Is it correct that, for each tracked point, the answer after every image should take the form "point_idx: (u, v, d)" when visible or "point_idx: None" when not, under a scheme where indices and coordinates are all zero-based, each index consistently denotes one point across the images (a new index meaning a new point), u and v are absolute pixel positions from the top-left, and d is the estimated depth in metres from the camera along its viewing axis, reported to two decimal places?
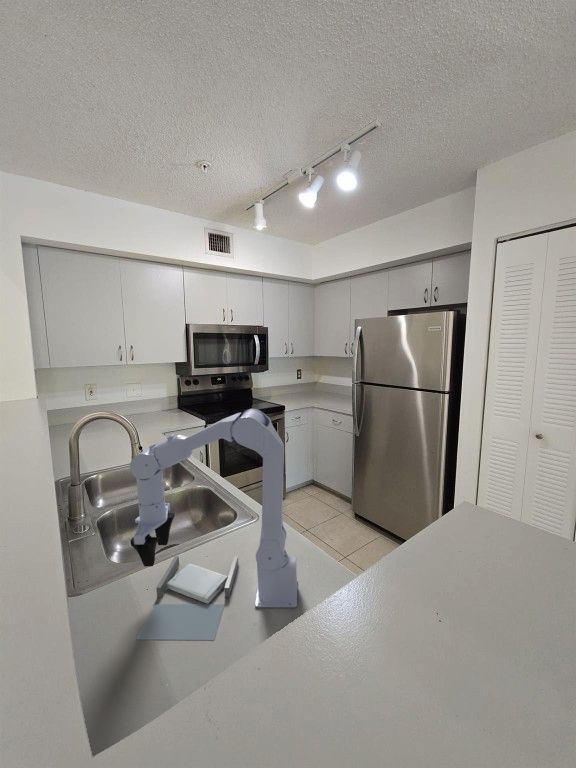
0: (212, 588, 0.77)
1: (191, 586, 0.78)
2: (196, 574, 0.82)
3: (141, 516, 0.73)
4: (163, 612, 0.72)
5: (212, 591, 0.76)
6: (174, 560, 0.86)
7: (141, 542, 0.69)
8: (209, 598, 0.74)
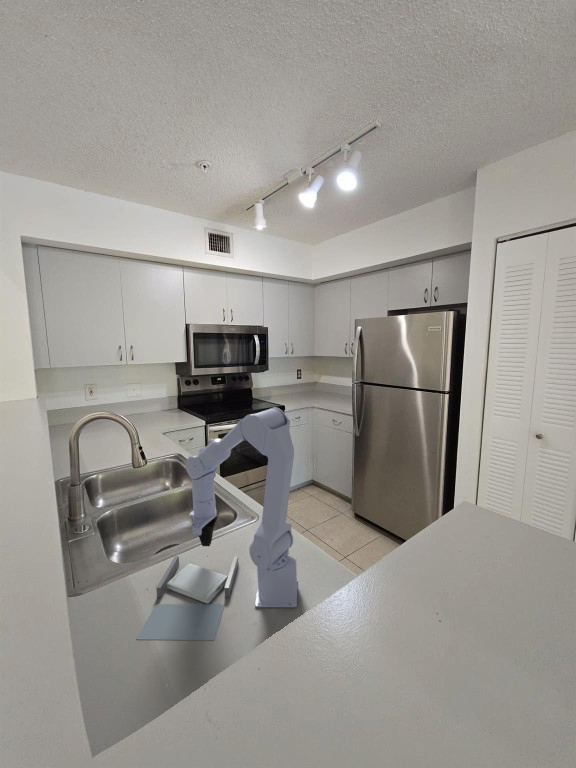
0: (212, 588, 0.77)
1: (191, 586, 0.78)
2: (196, 574, 0.82)
3: (196, 511, 0.84)
4: (163, 612, 0.72)
5: (212, 591, 0.76)
6: (174, 560, 0.86)
7: (199, 533, 0.80)
8: (209, 598, 0.74)
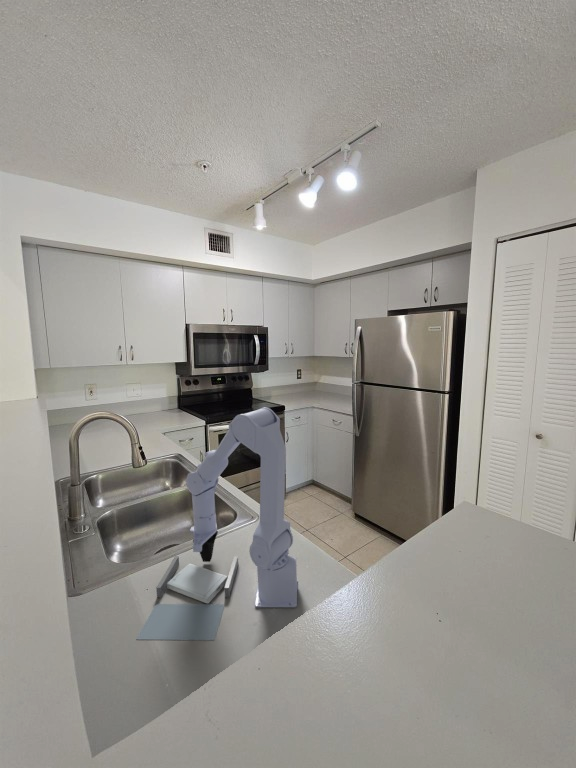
0: (212, 588, 0.77)
1: (191, 586, 0.78)
2: (196, 574, 0.82)
3: (196, 527, 0.84)
4: (163, 612, 0.72)
5: (212, 591, 0.76)
6: (174, 560, 0.86)
7: (199, 550, 0.80)
8: (209, 598, 0.74)
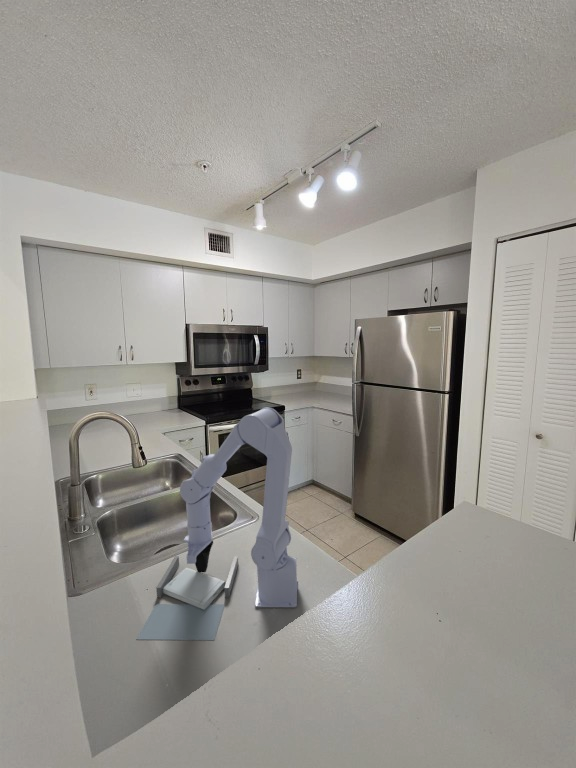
0: (209, 593, 0.75)
1: (187, 591, 0.76)
2: (193, 578, 0.80)
3: (190, 537, 0.80)
4: (163, 612, 0.72)
5: (209, 597, 0.74)
6: (174, 560, 0.86)
7: (193, 562, 0.75)
8: (206, 604, 0.73)
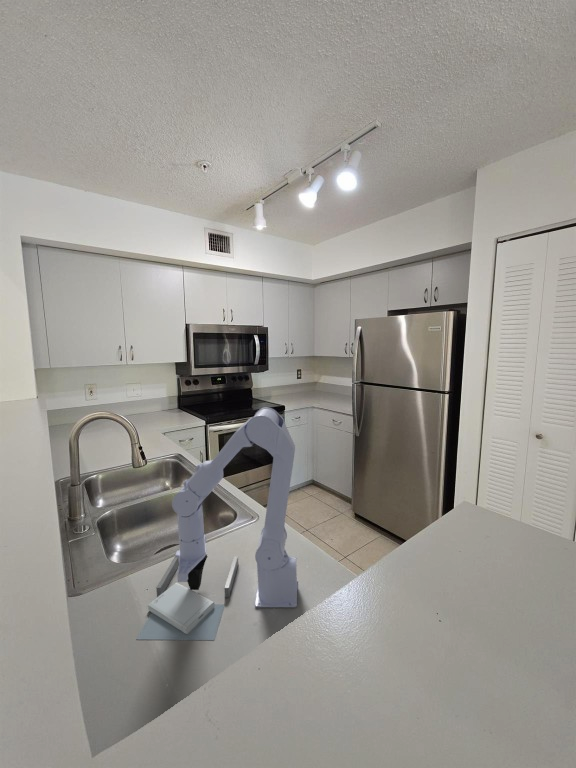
0: (194, 615, 0.69)
1: (172, 611, 0.70)
2: (181, 596, 0.74)
3: (182, 552, 0.74)
4: None
5: (193, 619, 0.68)
6: (174, 560, 0.86)
7: (184, 580, 0.70)
8: (189, 628, 0.67)
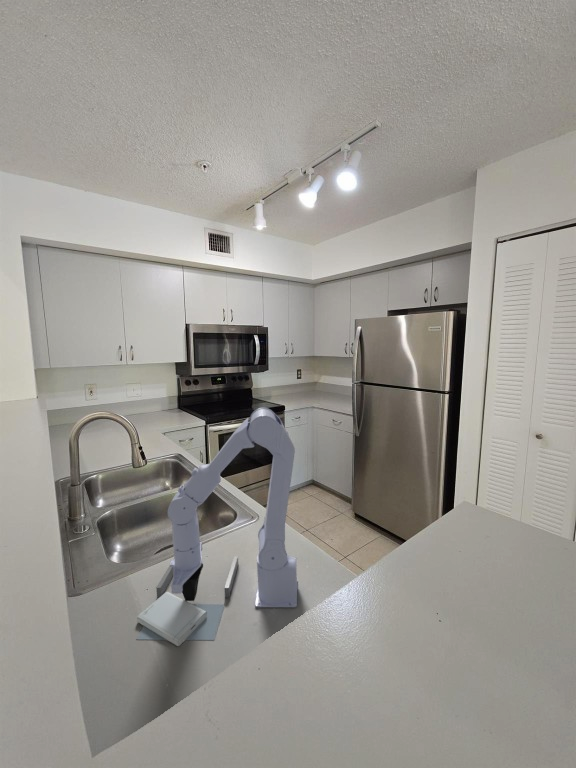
0: (186, 626, 0.66)
1: (163, 622, 0.68)
2: (172, 606, 0.72)
3: (177, 561, 0.71)
4: None
5: (185, 631, 0.65)
6: None
7: (179, 591, 0.66)
8: (180, 640, 0.64)
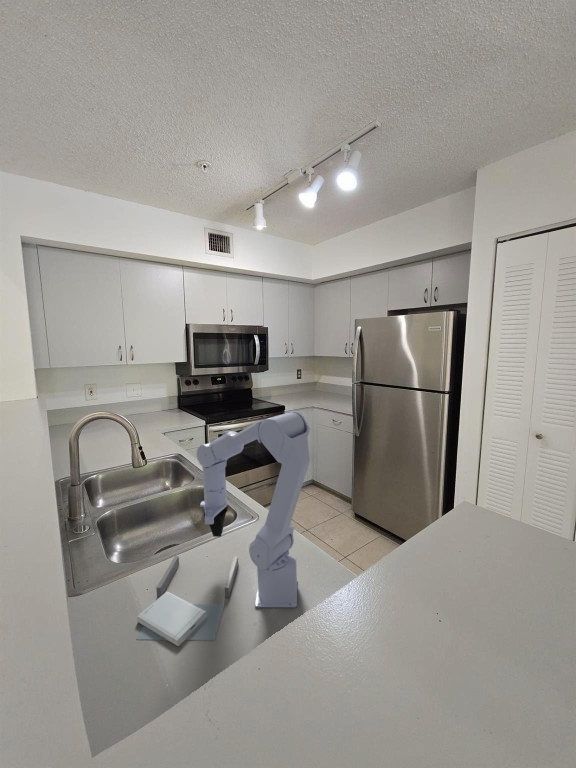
0: (186, 626, 0.66)
1: (163, 622, 0.68)
2: (172, 606, 0.72)
3: (207, 500, 0.83)
4: None
5: (185, 631, 0.65)
6: (174, 560, 0.86)
7: (211, 522, 0.78)
8: (180, 639, 0.64)
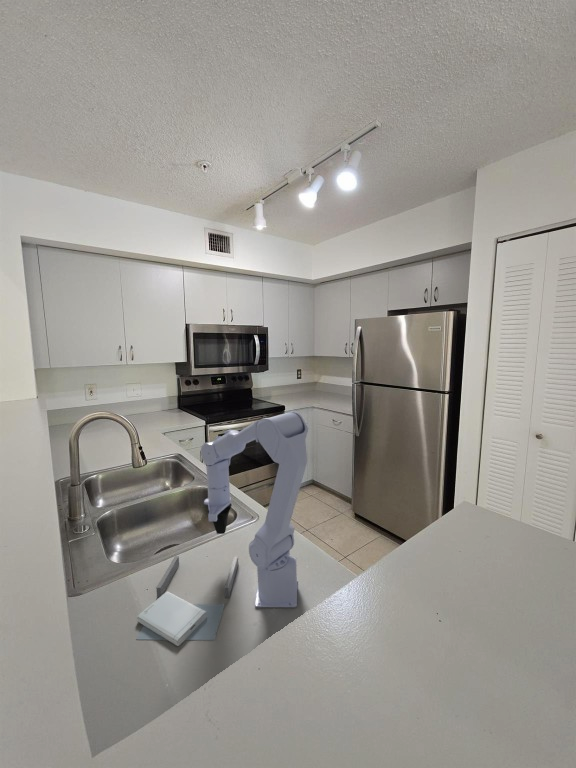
0: (186, 626, 0.66)
1: (163, 622, 0.68)
2: (172, 606, 0.72)
3: (211, 498, 0.84)
4: None
5: (185, 631, 0.65)
6: (174, 560, 0.86)
7: (214, 519, 0.80)
8: (180, 639, 0.64)
